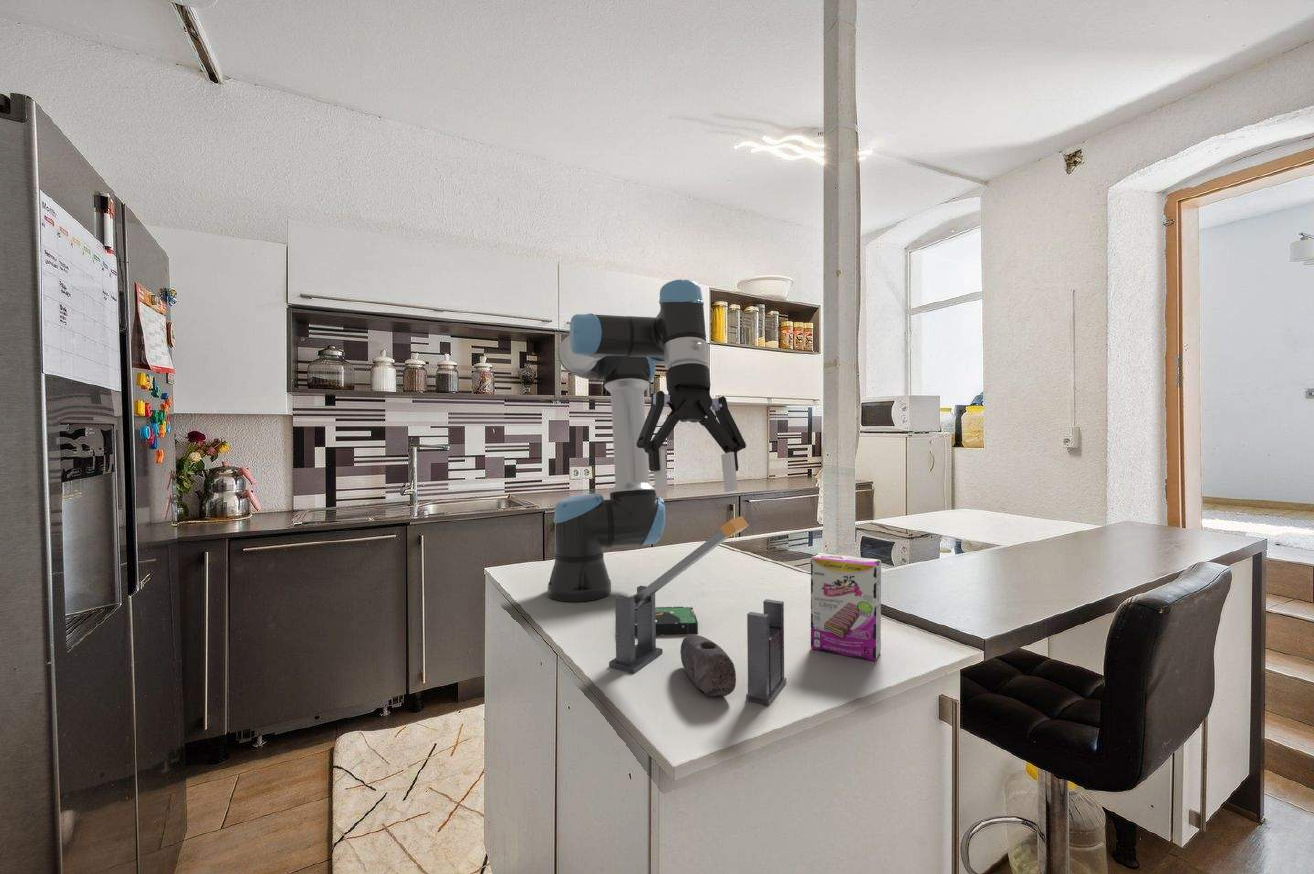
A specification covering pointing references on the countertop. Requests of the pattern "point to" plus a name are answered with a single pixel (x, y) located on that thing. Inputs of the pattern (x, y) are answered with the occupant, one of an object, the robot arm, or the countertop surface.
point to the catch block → (765, 652)
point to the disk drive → (674, 621)
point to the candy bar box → (846, 605)
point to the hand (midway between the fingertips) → (697, 491)
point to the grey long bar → (691, 559)
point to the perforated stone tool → (708, 666)
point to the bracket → (626, 650)
